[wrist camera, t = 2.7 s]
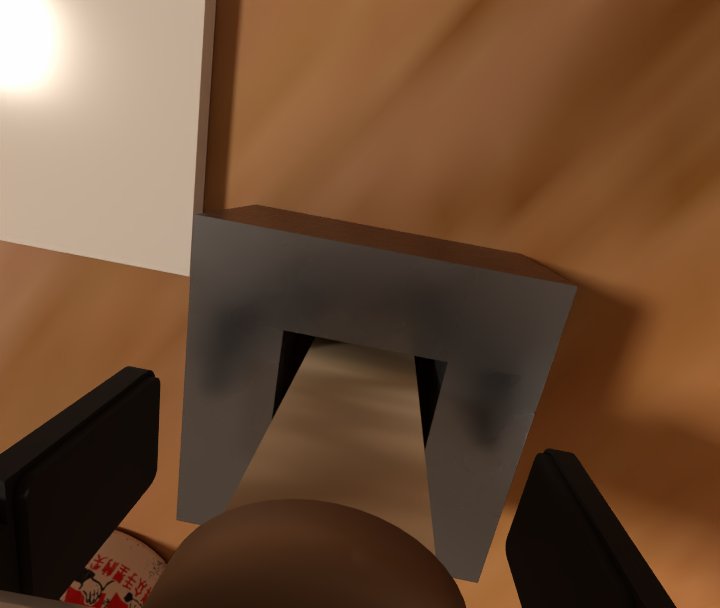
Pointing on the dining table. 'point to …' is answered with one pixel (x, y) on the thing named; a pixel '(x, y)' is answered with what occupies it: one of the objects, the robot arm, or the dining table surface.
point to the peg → (325, 501)
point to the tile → (105, 126)
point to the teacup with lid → (117, 575)
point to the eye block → (372, 329)
